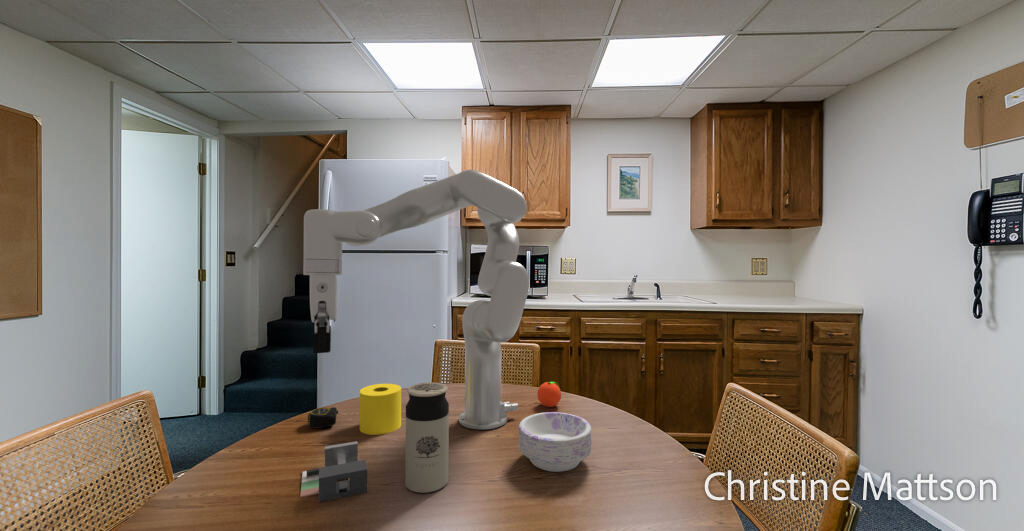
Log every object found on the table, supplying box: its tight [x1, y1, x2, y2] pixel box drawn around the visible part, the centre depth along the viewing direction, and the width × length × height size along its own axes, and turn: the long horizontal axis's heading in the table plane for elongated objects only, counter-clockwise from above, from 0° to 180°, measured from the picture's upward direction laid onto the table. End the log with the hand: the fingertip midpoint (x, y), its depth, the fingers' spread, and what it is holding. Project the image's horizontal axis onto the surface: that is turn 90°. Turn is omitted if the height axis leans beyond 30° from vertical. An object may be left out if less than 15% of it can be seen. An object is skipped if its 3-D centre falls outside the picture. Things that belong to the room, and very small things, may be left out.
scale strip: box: [299, 470, 319, 498], centre depth 79 cm, size 3×10×1 cm, turn 24°
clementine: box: [536, 381, 562, 408], centre depth 122 cm, size 8×7×7 cm
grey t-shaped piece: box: [306, 440, 359, 489], centre depth 78 cm, size 9×10×5 cm
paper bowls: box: [518, 411, 593, 473], centre depth 88 cm, size 15×15×8 cm
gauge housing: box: [318, 459, 369, 503], centre depth 76 cm, size 8×4×4 cm, turn 114°
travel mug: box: [404, 382, 450, 494], centre depth 79 cm, size 8×8×18 cm
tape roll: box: [359, 383, 402, 436], centre depth 106 cm, size 10×10×9 cm
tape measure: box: [307, 407, 339, 429], centre depth 107 cm, size 7×7×4 cm
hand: (322, 348), depth 89 cm, fingers open, 9 cm apart
